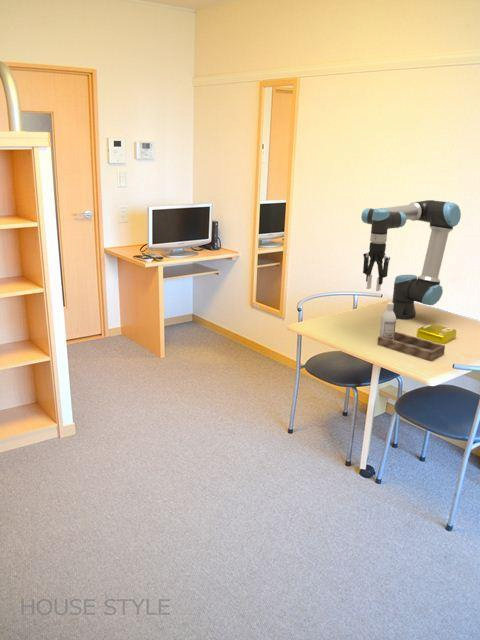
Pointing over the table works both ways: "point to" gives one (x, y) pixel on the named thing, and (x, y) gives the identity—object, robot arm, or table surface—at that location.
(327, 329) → the table surface
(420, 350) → the brown wooden tray
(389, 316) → the bath foam
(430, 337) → the element tile
